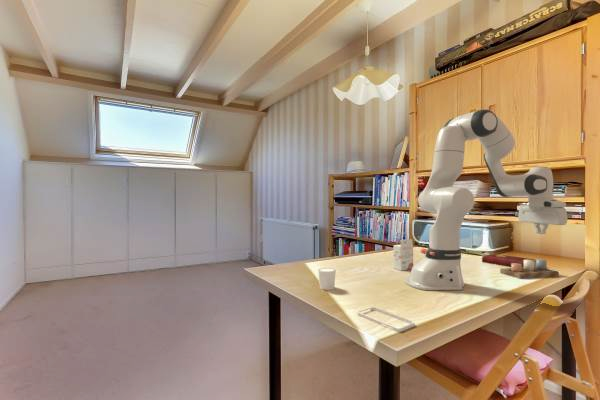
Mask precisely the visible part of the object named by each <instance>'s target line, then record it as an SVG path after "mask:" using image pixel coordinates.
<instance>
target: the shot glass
mask: <svg viewBox="0 0 600 400" xmlns="http://www.w3.org/2000/svg"><path fill="white" fill-rule="evenodd" d="M336 271H337V270H336V269H334V268H329V267H323V268H319V269H318V270H317V272H318V283H319V289H320V290H323V291H324V290H326V291H330V290H334V289H335V284H336V283H335V282H336Z"/></svg>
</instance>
